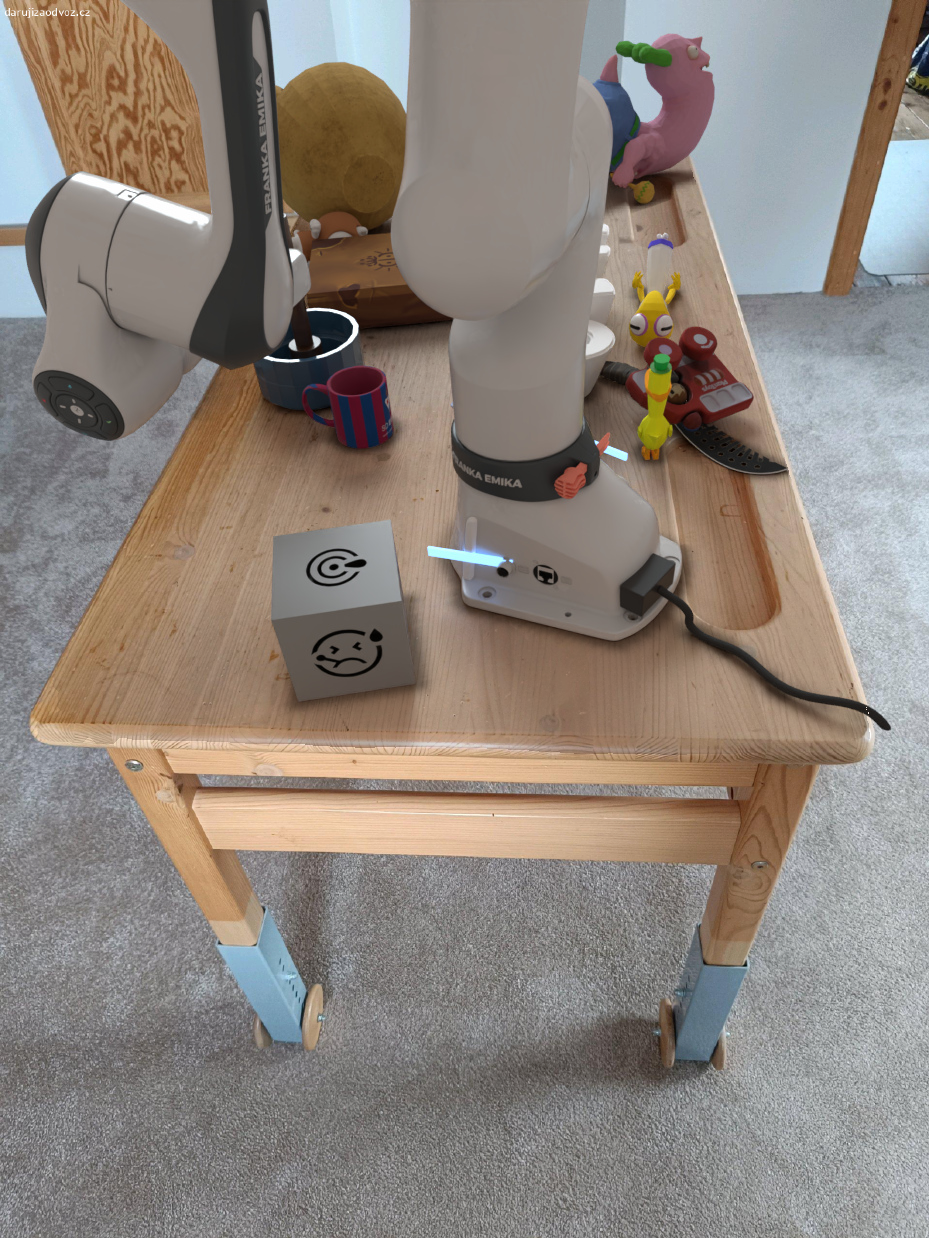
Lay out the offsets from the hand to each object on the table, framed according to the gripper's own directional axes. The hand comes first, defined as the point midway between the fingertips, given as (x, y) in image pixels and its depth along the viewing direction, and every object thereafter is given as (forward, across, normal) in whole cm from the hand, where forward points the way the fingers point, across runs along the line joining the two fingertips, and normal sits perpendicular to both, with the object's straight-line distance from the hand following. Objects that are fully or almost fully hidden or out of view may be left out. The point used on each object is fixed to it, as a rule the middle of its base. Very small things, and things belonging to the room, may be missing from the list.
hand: (231, 245), depth 83 cm
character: (+32, -41, +24) cm, 57 cm away
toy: (+78, -20, +7) cm, 81 cm away
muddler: (+12, +1, +22) cm, 25 cm away
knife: (+7, -43, +23) cm, 49 cm away
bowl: (+12, 0, +23) cm, 26 cm away
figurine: (+41, +14, +18) cm, 47 cm away
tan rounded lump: (+50, +3, +12) cm, 52 cm away
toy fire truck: (+13, -42, +18) cm, 47 cm away
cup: (+2, -7, +23) cm, 24 cm away
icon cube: (-31, -18, +23) cm, 43 cm away
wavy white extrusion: (+24, -28, +23) cm, 44 cm away
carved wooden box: (+36, -4, +23) cm, 43 cm away
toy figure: (+2, -42, +24) cm, 48 cm away
